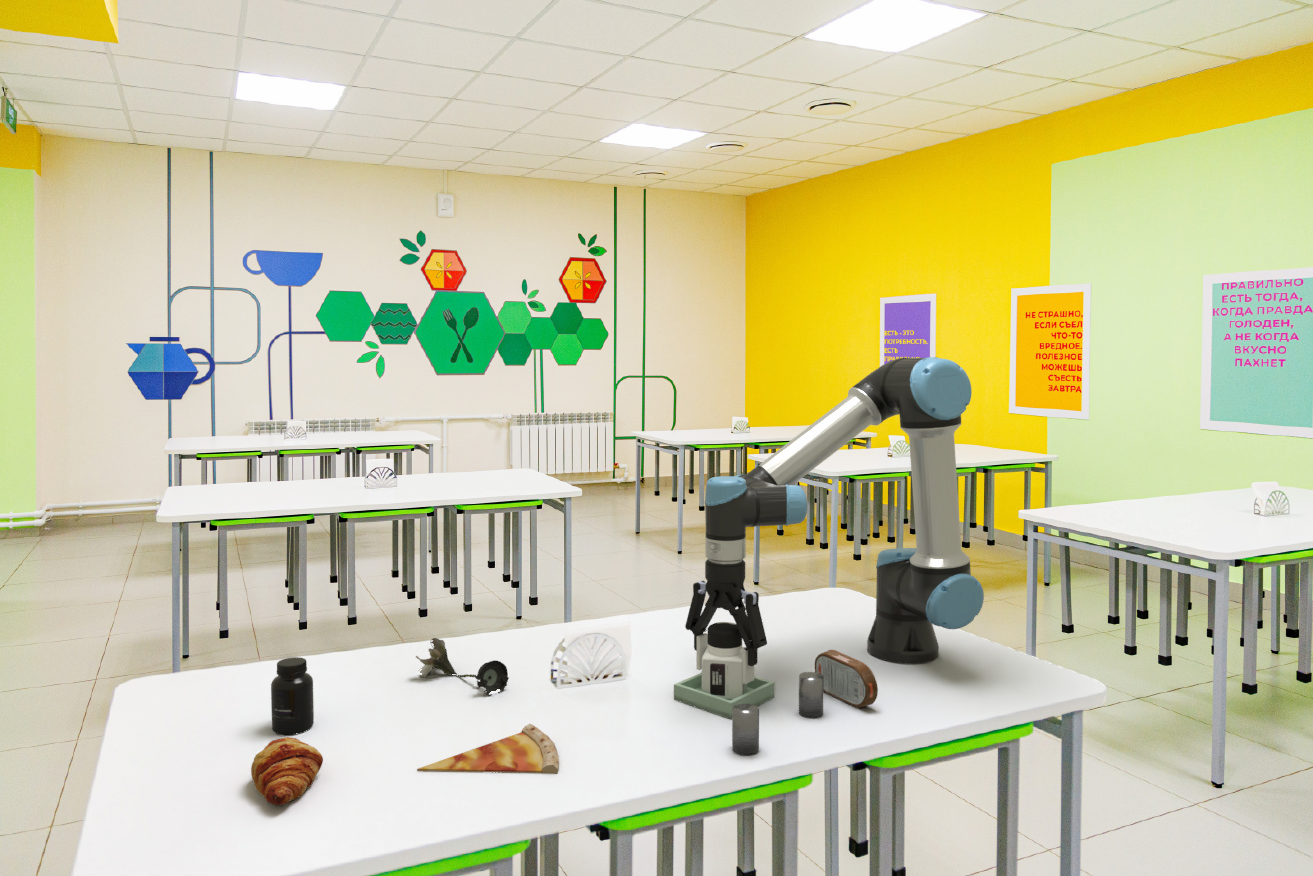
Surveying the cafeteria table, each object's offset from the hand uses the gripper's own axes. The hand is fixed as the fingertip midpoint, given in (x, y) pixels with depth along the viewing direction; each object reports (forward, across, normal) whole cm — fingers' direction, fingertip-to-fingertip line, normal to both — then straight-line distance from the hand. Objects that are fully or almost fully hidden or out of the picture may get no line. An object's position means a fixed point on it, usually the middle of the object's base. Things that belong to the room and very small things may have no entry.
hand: (724, 674), depth 167 cm
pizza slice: (+5, -14, -43) cm, 45 cm away
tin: (+5, +17, +15) cm, 23 cm away
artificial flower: (+5, -45, -29) cm, 54 cm away
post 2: (+5, +16, +5) cm, 17 cm away
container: (+4, 0, 0) cm, 4 cm away
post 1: (+5, +16, -15) cm, 23 cm away
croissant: (+5, -30, -71) cm, 77 cm away
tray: (+5, 0, 0) cm, 5 cm away
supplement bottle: (+5, -48, -61) cm, 78 cm away
